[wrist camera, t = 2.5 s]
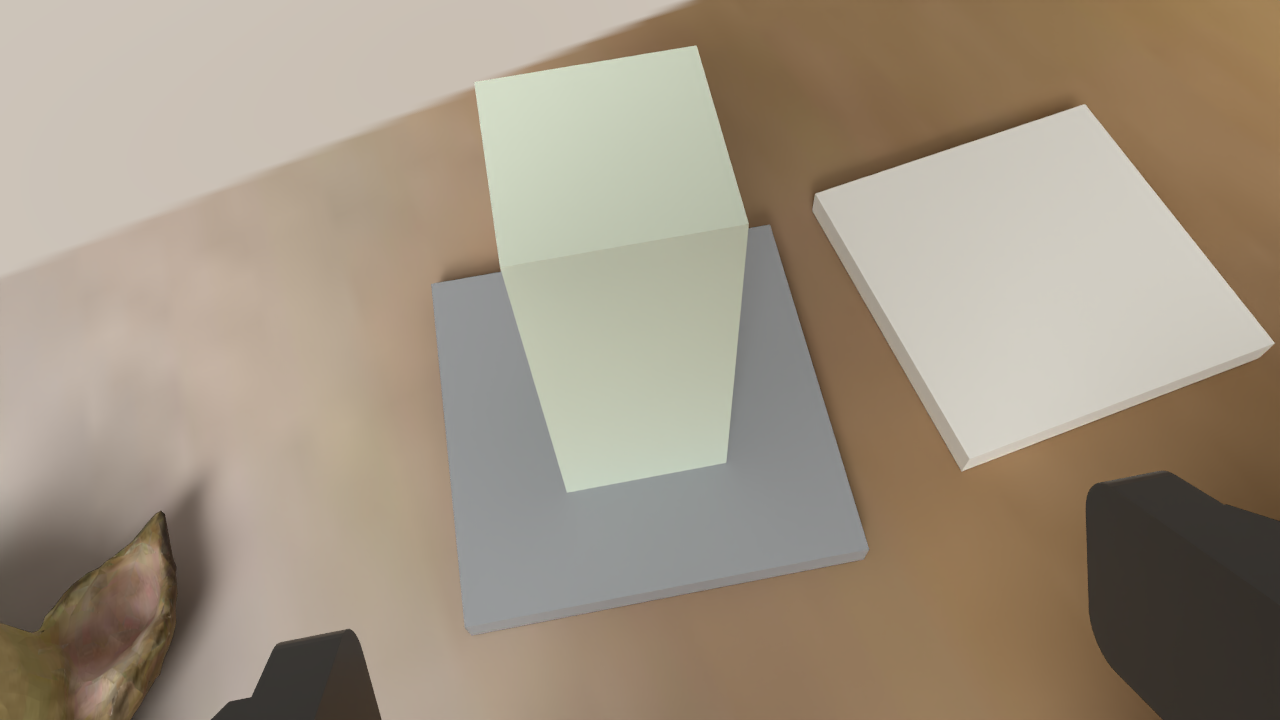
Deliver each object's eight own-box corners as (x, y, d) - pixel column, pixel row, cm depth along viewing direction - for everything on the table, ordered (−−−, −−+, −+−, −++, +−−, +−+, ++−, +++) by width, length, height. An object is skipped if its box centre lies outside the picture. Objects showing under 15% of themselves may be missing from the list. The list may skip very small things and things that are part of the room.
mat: (1075, 122, 38) (1084, 104, 37) (1258, 357, 33) (1275, 343, 32) (812, 210, 36) (815, 193, 35) (961, 471, 31) (969, 459, 30)
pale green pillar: (692, 326, 33) (696, 45, 22) (726, 462, 31) (748, 223, 20) (544, 352, 33) (474, 82, 22) (567, 492, 30) (500, 267, 19)
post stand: (767, 241, 36) (782, 127, 30) (863, 559, 30) (901, 488, 25) (437, 299, 35) (393, 194, 30) (471, 635, 29) (424, 579, 24)
